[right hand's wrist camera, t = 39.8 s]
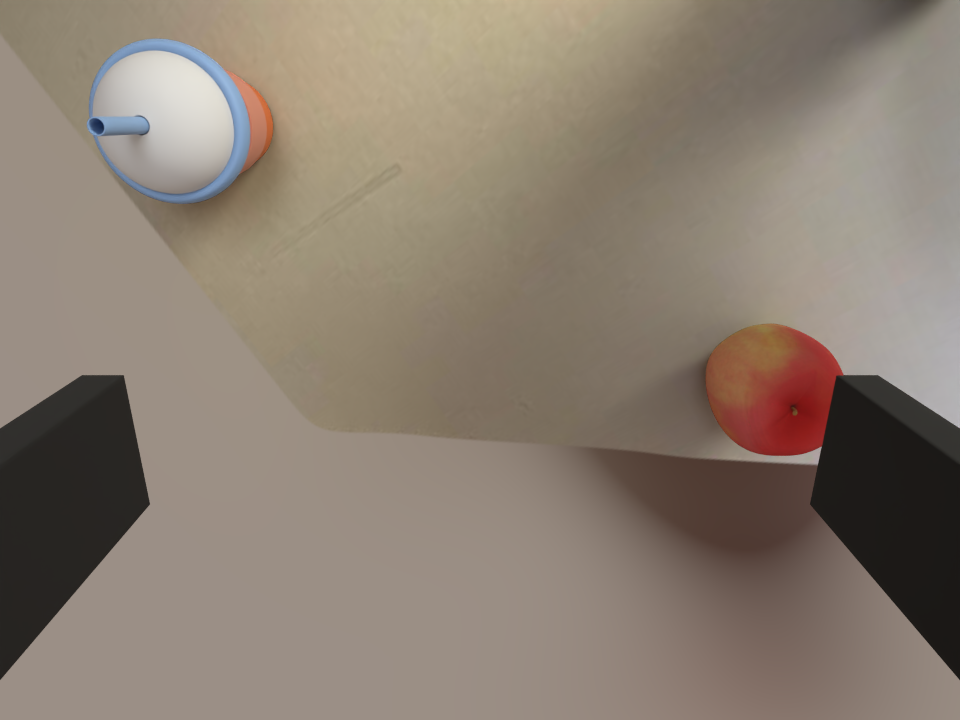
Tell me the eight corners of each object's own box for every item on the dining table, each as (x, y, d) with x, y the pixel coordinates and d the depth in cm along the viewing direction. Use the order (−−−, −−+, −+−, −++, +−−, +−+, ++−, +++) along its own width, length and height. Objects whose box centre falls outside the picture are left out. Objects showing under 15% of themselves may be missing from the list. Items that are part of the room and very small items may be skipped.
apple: (819, 317, 53) (892, 360, 44) (783, 423, 56) (843, 484, 47) (703, 300, 52) (752, 340, 43) (674, 407, 56) (713, 466, 46)
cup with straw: (200, 201, 50) (56, 245, 33) (147, 76, 47) (-42, 53, 30) (312, 167, 49) (223, 194, 32) (266, 37, 46) (141, -9, 29)
